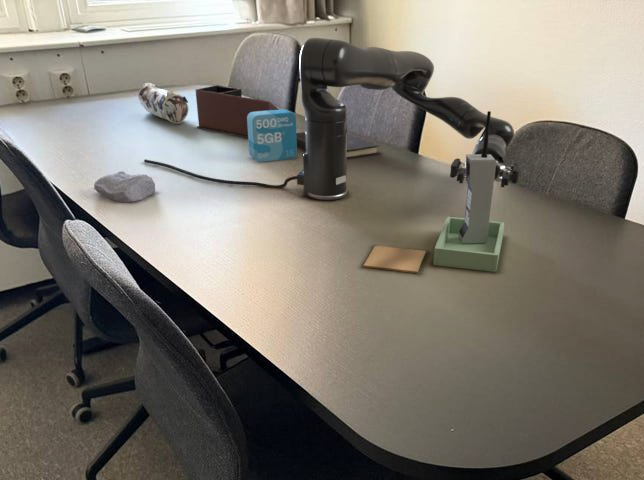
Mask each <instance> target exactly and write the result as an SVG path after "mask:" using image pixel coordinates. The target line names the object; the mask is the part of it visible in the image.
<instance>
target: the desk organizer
mask: <svg viewBox="0 0 644 480" xmlns="http://www.w3.org/2000/svg"><path fill="white" fill-rule="evenodd" d="M242 93H243V92H242V89H241V88H237V87H231V86H226V85H225V86H224V85H219V84H216V85H215V84H214V85H211V86H206V87H201V88H196V89H195V99H196V100H195V101H196V109H197V110H196V111H197V121H198V126H196V128H197V129H200V130H206V131H211V132H216V133H222V134H226V135H232V136H236V137H241V138H247V139H248V125H247V116H248V114H249V113H250V112H256V111H268V110H280V108H278V107H277V106H275V105H274V104H273V103H272V102H271V101H268V100H263V99H257V98H250V97H245V96H243V95H242Z"/></svg>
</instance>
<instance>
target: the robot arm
mask: <svg viewBox="0 0 644 480" xmlns="http://www.w3.org/2000/svg"><path fill="white" fill-rule="evenodd" d="M434 72H435V66H434V63H433V62H432V60H431V59H430V58H429V57H427V56H426V55H424V54H422V53H419V52H418V51H417V52H416V51H411V50H400V51H399V50H398V51H397V50H390V49H388V48H383V47H377V46H365V47H363V48H362V47H360V46H357V45H354V44H352V43H350V42H347V41H345V40H341V39H333V38H323V37H310V38H307V39H306V40H305V41H304V42H303V44H302V45H301V50H300V53H299V79H300V80H299V81H300V89H301V91H300V92H301V93H300V94H301V104H302V108H303V110H304V126H305V127H304V130H305V131H304V132H305V137H306V150H305V152H304V153H303V155H302V169H301V170H300V172H298V173H297V174H296V175H294V176H290V177H288V178H286V179H285V180H284V182H283V183H282V184H275V185H274V184H267V183H264V182H263V183H262V182H257V181H239V180H229V179H220V178H214V177H209V176H205V175H200V174H197V173H195V172H191V171H188V170H185V169H182V168H180V167H177V166H174V165H171V164H168V163H164V162H161V161H156V160H152V159H151V160H150V159H146V158H145V159H143V162H144V163H146V164H151V165H155V166H160V167H165V168H168V169H171V170H174V171H176V172H179V173H181V174H185V175H187V176H191V177H193V178H196V179H200V180H204V181H208V182H212V183H213V182H214V183H218V184H227V185H237V186H256V187H262V188H268V189H269V188H270V189H283V188H286V187H287V185H288V183H289V182H292V181H294V180H295V181H296V185H297V186H303V197H308V198H310V199H314V200H319V201H335V200H339V199H340V200H341V199H343V198H345V197H346V196H347V193H348V192H347V191H348V189H347V188H348V187H347V165H348V164H347V162H348V161H347V160H348V159H347V133H348V109H347V105H346V104H345V103H344V102H342V101H341V100H339V99H338V98H337V97H335V96H334V95H333V94H332V93H331V92H330V90H329V87H330V88H344V87H350V86H357V85H358V86H359V87H362V88H363V89H368V90H375V91H384V90H387V89H390V88H391V89H392V90H393V91H394V92H395V93H396V94H397V95H398V96H400V97H401V98H403V99H404V100H406V101H407V102H409V103H411V104H412V105H415V106H416V107H418V108H419V109H421V110H423V111H425V112H426V113H428V114H430V115H432V116H434V117H435V118H437V119H439V120H441V121H442V122H443V123H445V124H447V125H448V126H449V127H451V128H452V129H453V130H454V131H456V132H457V133H458V134H459V135H461V136H462V137H463V138H465V139H467V140H471V139H474V138H476V137H477V136H478V135H479V134H481V135H480V136H479V139H478V140H477V142H476V144H475V146H474V148H473V151H472V154H482V152H483V143H484V137H485V131H486V121H487V113H484V112H482V111H480V110H479V109H477V108H476V107H475V106H473V105H472V104H471V103H469V102H468V101H467V100H465V99H463V98H461V97H456V96H443V97H429V96H427V95H424V92H425V91H426V89H427V87H428V85H429V83H430V81H431V79H432V77H433V75H434ZM481 132H482V133H481ZM514 136H515V130H514V127H513V125H512V124H511V123H510V122H508V121H506V120H504V119H500V118H498V117H495V116H494V117H493V116H491V115H490V124H489V133H488V148H487V154H490V155H491V156H492V157H493V158H494V159H495V160H496V168H495V177H494V182H496V183H500V182H501V183H500V188H505V186H509V183H510V182H511V183H513V184H518V183H519V182H518V181H519V174H520V164H519V163H512V164H511V165H510V166H507V164H506V161H507V149H508V147H509V145H510V144H511V142H512V140H513V139H514ZM449 177H450V178H456V182H458V184H461V185H462V184H463V183H464V182H465V179H466V162H463V161H462V160H461V158H454V160H453V161H452V163H451V164H450V173H449Z"/></svg>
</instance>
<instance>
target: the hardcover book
mask: <svg viewBox="0 0 644 480" xmlns="http://www.w3.org/2000/svg"><path fill="white" fill-rule="evenodd" d="M296 136H297V148H300V149H303V150H305V151H306V137H305V131H302V132H296ZM379 147H380V146H379V145H378V144H376V143H373V142H370V141H367V140H366V139H363V138H360V137H358V136H355V135H353V134H350V133H348V132H347V160H348V159H354V158H355V159H356V158H361V157H368V156H374V155H379V152H378V151H377V150H378V148H379Z"/></svg>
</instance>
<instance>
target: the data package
mask: <svg viewBox="0 0 644 480" xmlns="http://www.w3.org/2000/svg"><path fill="white" fill-rule="evenodd" d="M247 125H248V138H247V139H248V153H249V156H250V157H251V158H252V159H254V160H255V161H257V162H258V163H264V162H265V163H266V162H273V161H282V160H292V159H294V158H296V156H297V154H298V146H297V136H296V133H297V116H296V114H295V113H294V112H292V111H290V110H289V109H286V108H281V109H280V108H279V110H268V111H256V112H250V113H249V114H248V116H247Z"/></svg>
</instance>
